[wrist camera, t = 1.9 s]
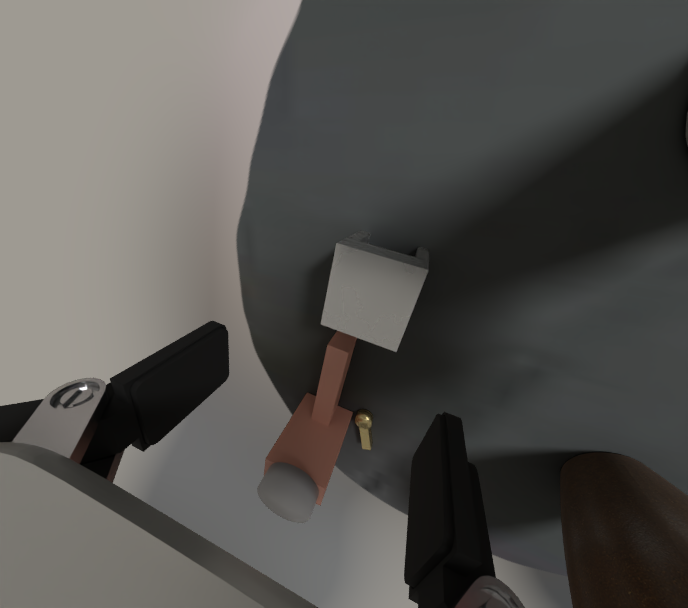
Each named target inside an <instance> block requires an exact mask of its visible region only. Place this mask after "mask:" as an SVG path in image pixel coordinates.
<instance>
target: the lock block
mask: <svg viewBox="0 0 688 608" xmlns="http://www.w3.org/2000/svg"><path fill="white" fill-rule="evenodd" d="M370 234H371V233H367V232H364V231H359V232H357V233H355V234H353V235H351V236H349V237H347V238H345V239H343V240H341V241H339V242H337V243H336V248H335V253H334V258H333V263H332V268H331V274H330V279H329V284H328V289H327V294H326V299H325V304H324V309H323V315H322V320H321V325H324V326H327V327H329V328H332V329H335V330H338V331H340V332H343V333H346V334H348V335H351V336H354V337H356V338H359V339H362V340H365V341H367V342H370V343H373V344H375V345H378V346H381V347H384V348H386V349H389V350H392V351H394V352H397V349H398V347H399V344H400V342H401V339H402V337H403V334H404V332H405V329H406V327H407V324H408V322H409V319H410V316H411V314H412V311H413V309H414V306H415V304H416V301H417V299H418V296H419V294H420V291H421V288H422V286H423V283H424V281H425V278H426V276H427V273H428V271H429V250H428V249H425V248H421V247H418V249H417V252H416V255H415V257H413V256H410V255H406V254H403V253H399V252H396V251H392V250H389V249H385V248H382V247H378V246H375V245H372V244H368V242H369V238H370Z"/></svg>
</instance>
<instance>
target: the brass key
mask: <svg viewBox="0 0 688 608" xmlns="http://www.w3.org/2000/svg"><path fill="white" fill-rule="evenodd" d="M372 420H373V415H372V413H371V412H370V411H368V410H366V409H360V410H359V411H358V412H357V415H356V418H355V423H356V425H357V426H359V429H360V436H361V443H362V449H367V450H371V447H372V443H373V442H372V434H371V424H372Z"/></svg>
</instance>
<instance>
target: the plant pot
mask: <svg viewBox="0 0 688 608" xmlns="http://www.w3.org/2000/svg"><path fill="white" fill-rule="evenodd" d="M560 505H561V522H562V533H563V543H564V552H565V560H566V567H567V574H568V580H569V586H570V593H571V599H572V604H573V608H688V496H687V495H686V494H684V493H683V492H682V491H680V490H679V489H678V488H676V487H675V486H674V485H672V484H671V483H669V482H668V481H667V480H665V479H664V478H663V477H661V476H660V475H658V474H657V473H655V472H654V471H653V470H651V469H650V468H648V467H647V466H645V465H644V464H642V463H641V462H639V461H637V460H635V459H633V458H630V457H627V456H624V455H619V454H614V453H604V452H594V453H586V454H582V455H578V456H576V457H573V458H571V459H570V460H568V461H567V462H566V463H565V464H564V465H563V467H562V469H561V473H560Z"/></svg>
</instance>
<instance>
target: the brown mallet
mask: <svg viewBox="0 0 688 608" xmlns="http://www.w3.org/2000/svg"><path fill="white" fill-rule="evenodd" d="M356 340H357V338H356V337H354V336H351V335H348V334H346V333H343V332H340V331H338V330H337V332H336V333H335V335H334V336H333V338H332V339H331V340H330V342H329V343H328V345H327V349H326V354H325V358H324V363H323V367H322V372H321V376H320V381H319V385H318V390H317V395H316V396H314V395H312V394H310V393H306V395H305V396H304V398H303V400H302V401H301V403H300V404H299V406H298V408H297V409H296V411H295V412H294V414H293V416H292V417H291V419H290V421H289V422H288V424H287V425H286V427H285V428H284V430H283V432H282V433H281V435H280V436H279V438H278V440H277V441H276V443H275V444H274V446H273V448H272V449H271V451H270V452H269V454H268V456H267V457H266V460H265V470H264V477H263V479H262V481H261V482H260V484H259V486H258V488H257V490H258V495H259V497H260V499H261V500H262V502H263V503H264V504H265V505H266V506H267V507H268V508H269V509H270V510H271V511H273V512H274V513H275V514H277V515H279V516H280V517H282V518H284V519H287V520H289V521H292V522H297V523H304V522H307V521H308V520H309V519H310V517H311V514H312V511H313V509H314V506H315V504H318V505H321V502H322V499H323V496H324V494H325V491H326V488H327V485H328V482H329V480H330V477H331V474H332V471H333V468H334V466H335V463H336V460H337V457H338V454H339V451H340V449H341V446H342V443H343V440H344V437H345V435H346V432H347V429H348V426H349V423H350V420H351V417H352V414H353V412H351V411H349V410H347V409H344V408H342V407H340V406H338V402H339V399H340V395H341V392H342V388H343V385H344V381H345V378H346V375H347V371H348V368H349V364H350V361H351V357H352V354H353V350H354V347H355V343H356Z"/></svg>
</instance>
